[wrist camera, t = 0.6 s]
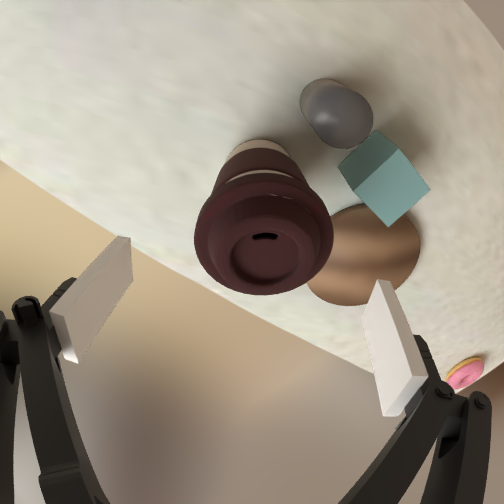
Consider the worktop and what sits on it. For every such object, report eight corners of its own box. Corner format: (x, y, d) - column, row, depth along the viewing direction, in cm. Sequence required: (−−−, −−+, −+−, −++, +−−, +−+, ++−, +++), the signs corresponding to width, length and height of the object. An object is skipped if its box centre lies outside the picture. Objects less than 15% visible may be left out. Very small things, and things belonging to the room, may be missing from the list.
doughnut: (479, 348, 58) (486, 362, 55) (481, 364, 63) (487, 376, 60) (440, 370, 62) (446, 384, 59) (447, 383, 67) (451, 396, 64)
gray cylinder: (297, 80, 27) (311, 91, 22) (347, 78, 27) (372, 89, 21) (302, 127, 30) (315, 150, 25) (349, 124, 30) (372, 147, 24)
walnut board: (299, 210, 36) (301, 215, 35) (424, 198, 35) (429, 203, 34) (303, 306, 46) (304, 312, 45) (405, 291, 45) (408, 297, 44)
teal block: (337, 166, 33) (352, 191, 28) (376, 129, 30) (399, 148, 26) (370, 199, 35) (388, 227, 31) (406, 165, 33) (430, 189, 28)
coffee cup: (270, 225, 37) (281, 326, 25) (195, 184, 34) (167, 277, 22) (323, 158, 32) (368, 241, 20) (243, 107, 29) (241, 162, 17)
